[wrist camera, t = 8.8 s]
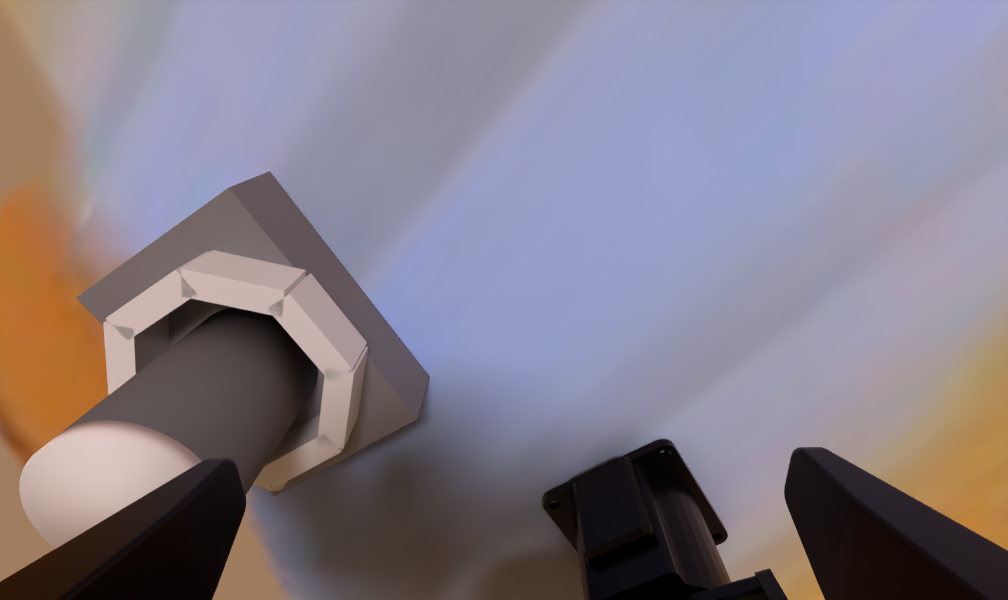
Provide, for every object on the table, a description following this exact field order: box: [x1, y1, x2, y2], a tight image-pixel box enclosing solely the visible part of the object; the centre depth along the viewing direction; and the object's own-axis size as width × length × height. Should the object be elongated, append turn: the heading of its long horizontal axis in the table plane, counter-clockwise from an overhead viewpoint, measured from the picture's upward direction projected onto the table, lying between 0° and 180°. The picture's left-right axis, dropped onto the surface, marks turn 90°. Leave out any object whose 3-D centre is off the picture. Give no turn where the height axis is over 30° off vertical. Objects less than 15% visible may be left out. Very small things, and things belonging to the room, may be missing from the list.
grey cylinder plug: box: [19, 307, 318, 549], centre depth 16 cm, size 4×4×7 cm
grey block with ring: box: [76, 171, 429, 496], centre depth 19 cm, size 10×8×5 cm
